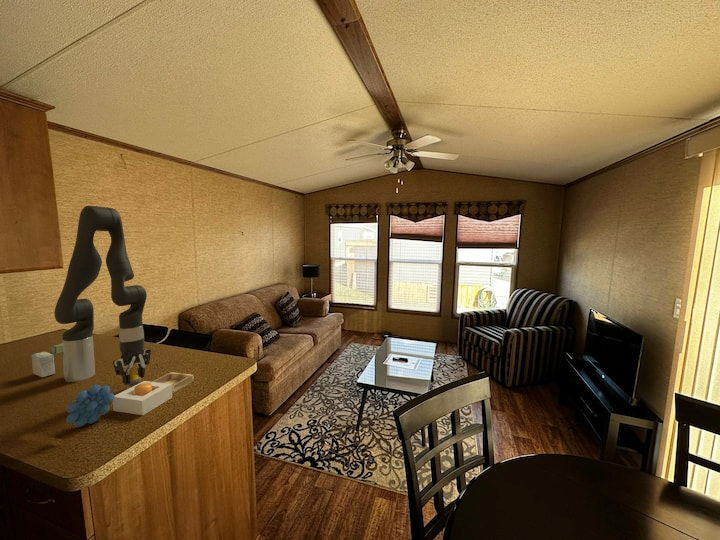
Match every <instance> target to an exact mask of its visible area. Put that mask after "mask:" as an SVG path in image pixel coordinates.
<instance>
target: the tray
mask: <svg viewBox="0 0 720 540" xmlns="http://www.w3.org/2000/svg"><path fill="white" fill-rule="evenodd" d="M194 377H195V376H194V374H191V373H189V374H188V373H183V372H174V371H173V372H172V371H170V372H168V373H166V374H165V375H162V376H160V377H158V378H156V379H154V380H152V381H151V382H157V383H165V384H172V395H174V394H175V393H177V392H179V391H180V390H181V389H183V388H184V387H187V386H188V385H189V384H191V383H192V382H194V379H195V378H194Z"/></svg>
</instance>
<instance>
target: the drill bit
mask: <svg viewBox="0 0 720 540" xmlns="http://www.w3.org/2000/svg"><path fill="white" fill-rule="evenodd" d="M127 366H129V365H127ZM129 374H130V384H128V385H126V384H124V383H123V384H124V386H129V388H131V387H133V386H135V385H137V384H139V382H140V381H141V380H142V378H141V377H139V376H138V372H136V370H135V369H134V368H133V367H132V368H131V369H130V373H129Z"/></svg>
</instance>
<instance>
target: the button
mask: <svg viewBox="0 0 720 540" xmlns="http://www.w3.org/2000/svg"><path fill="white" fill-rule="evenodd" d="M138 384H139V383H138ZM134 390H135V395H137V396H144V395H146V394H148V393H150V392H151V391H152V384H151V383H143V384H139V385H137V386H135V388H134Z"/></svg>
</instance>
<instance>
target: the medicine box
mask: <svg viewBox="0 0 720 540" xmlns="http://www.w3.org/2000/svg"><path fill="white" fill-rule="evenodd" d="M31 364H32V373H33V374H34V375H36V376H37V377H40V378H45V377H48V376H51V375H55V374H56V370H55V369H56V368H55V367H56V366H55V357H54V354H52V353H50V352H47V351H41V352H37V353H34V354H31Z"/></svg>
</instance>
